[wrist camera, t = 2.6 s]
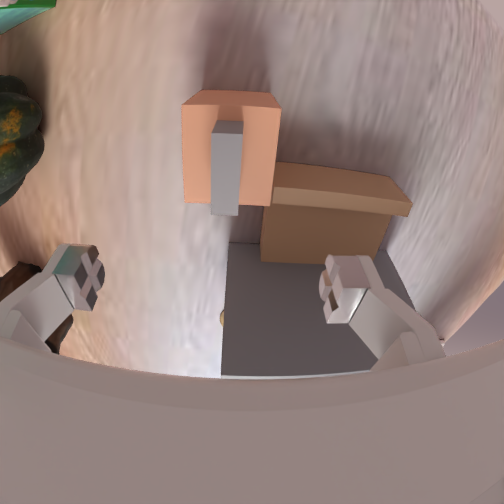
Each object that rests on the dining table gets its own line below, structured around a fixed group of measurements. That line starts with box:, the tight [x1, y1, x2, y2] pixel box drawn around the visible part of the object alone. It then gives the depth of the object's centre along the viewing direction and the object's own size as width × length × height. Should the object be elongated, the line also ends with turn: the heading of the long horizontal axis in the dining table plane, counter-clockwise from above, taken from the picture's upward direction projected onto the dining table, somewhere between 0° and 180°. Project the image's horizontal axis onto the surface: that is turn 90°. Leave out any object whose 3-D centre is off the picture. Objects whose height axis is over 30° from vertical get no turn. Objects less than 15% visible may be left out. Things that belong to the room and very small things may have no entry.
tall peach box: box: [182, 90, 281, 216], centre depth 19 cm, size 6×7×11 cm
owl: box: [0, 262, 73, 355], centre depth 29 cm, size 13×13×20 cm
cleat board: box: [221, 161, 416, 379], centre depth 24 cm, size 20×16×16 cm
